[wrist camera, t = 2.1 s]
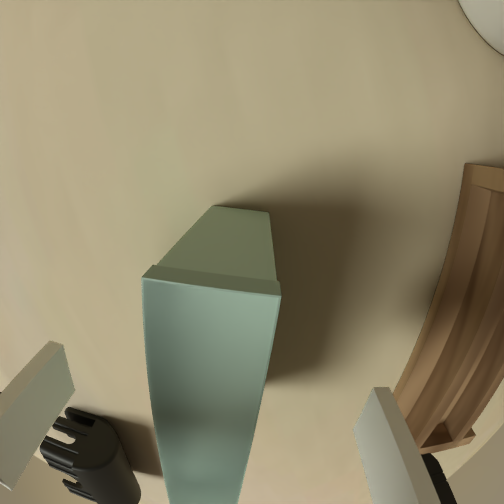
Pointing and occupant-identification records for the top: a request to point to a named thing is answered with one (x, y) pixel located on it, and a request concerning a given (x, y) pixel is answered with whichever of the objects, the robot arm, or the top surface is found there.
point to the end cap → (92, 459)
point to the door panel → (210, 350)
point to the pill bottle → (487, 20)
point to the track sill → (461, 324)
